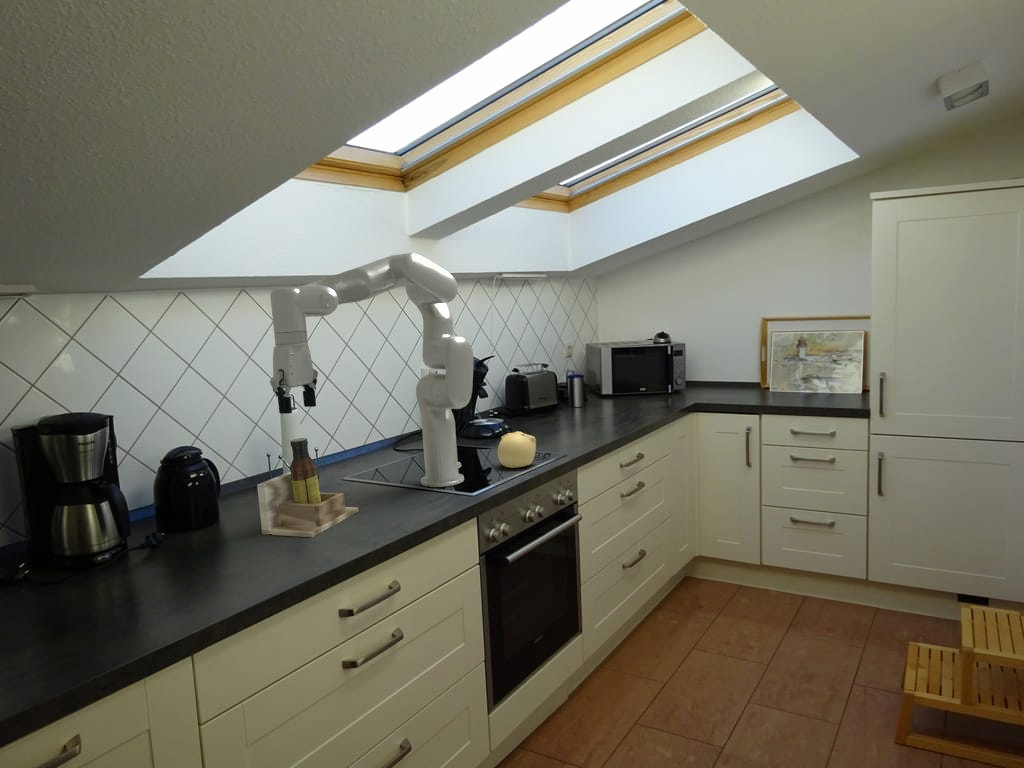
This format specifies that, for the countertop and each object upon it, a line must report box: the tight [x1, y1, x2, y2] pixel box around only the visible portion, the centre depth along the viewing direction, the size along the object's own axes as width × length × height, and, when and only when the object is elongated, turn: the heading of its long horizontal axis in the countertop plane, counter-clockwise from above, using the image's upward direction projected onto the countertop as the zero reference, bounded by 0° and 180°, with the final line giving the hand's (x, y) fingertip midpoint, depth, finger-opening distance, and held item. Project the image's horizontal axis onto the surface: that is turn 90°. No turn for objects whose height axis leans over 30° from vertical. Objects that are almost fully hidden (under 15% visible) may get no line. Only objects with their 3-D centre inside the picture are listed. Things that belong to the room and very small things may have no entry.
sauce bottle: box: [289, 437, 321, 504], centre depth 175 cm, size 6×6×20 cm
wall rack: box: [256, 471, 359, 538], centre depth 175 cm, size 20×14×12 cm
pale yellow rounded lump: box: [497, 430, 537, 469], centre depth 221 cm, size 12×12×11 cm
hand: (298, 409), depth 172 cm, fingers open, 9 cm apart
